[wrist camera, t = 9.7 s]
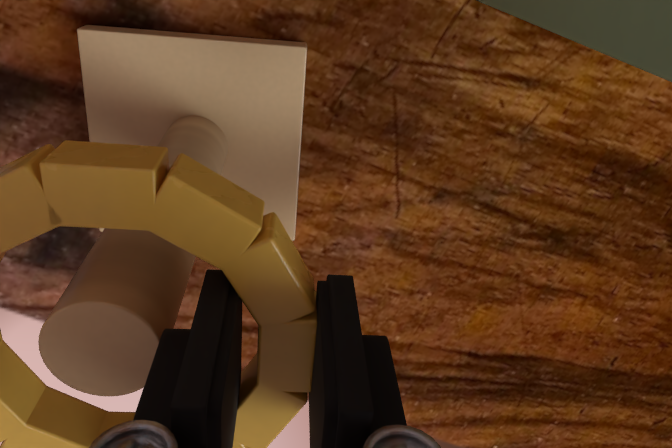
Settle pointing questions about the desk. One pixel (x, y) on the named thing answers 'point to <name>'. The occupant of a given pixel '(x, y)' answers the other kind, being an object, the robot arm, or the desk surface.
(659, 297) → the desk surface
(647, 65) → the stand
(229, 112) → the post
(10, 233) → the ring
